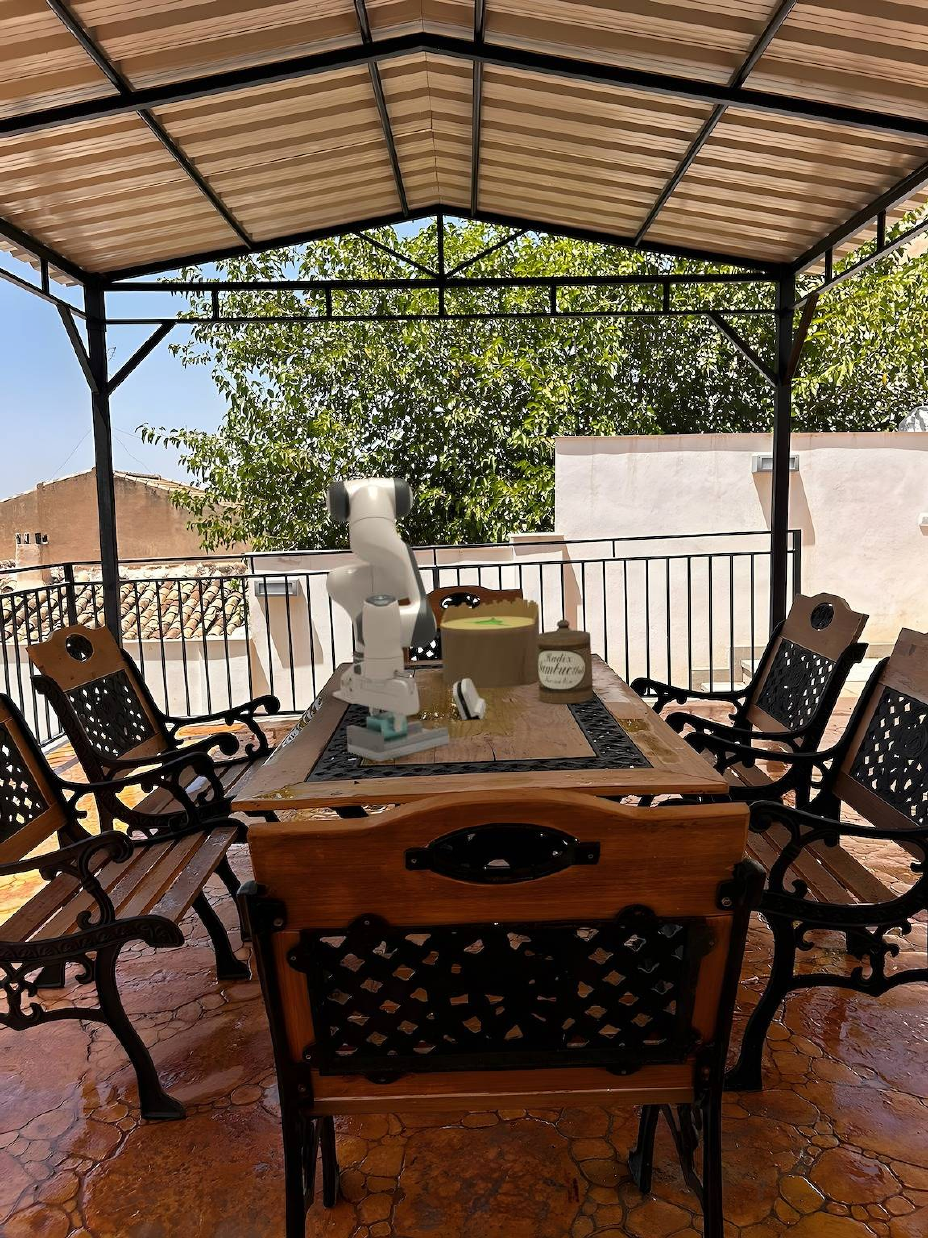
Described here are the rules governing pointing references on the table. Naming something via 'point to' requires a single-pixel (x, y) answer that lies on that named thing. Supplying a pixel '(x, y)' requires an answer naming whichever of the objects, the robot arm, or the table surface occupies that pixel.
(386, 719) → the block
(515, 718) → the table surface
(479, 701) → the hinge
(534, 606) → the brown wide cylinder
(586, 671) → the wooden container
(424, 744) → the guide channel
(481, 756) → the table surface
